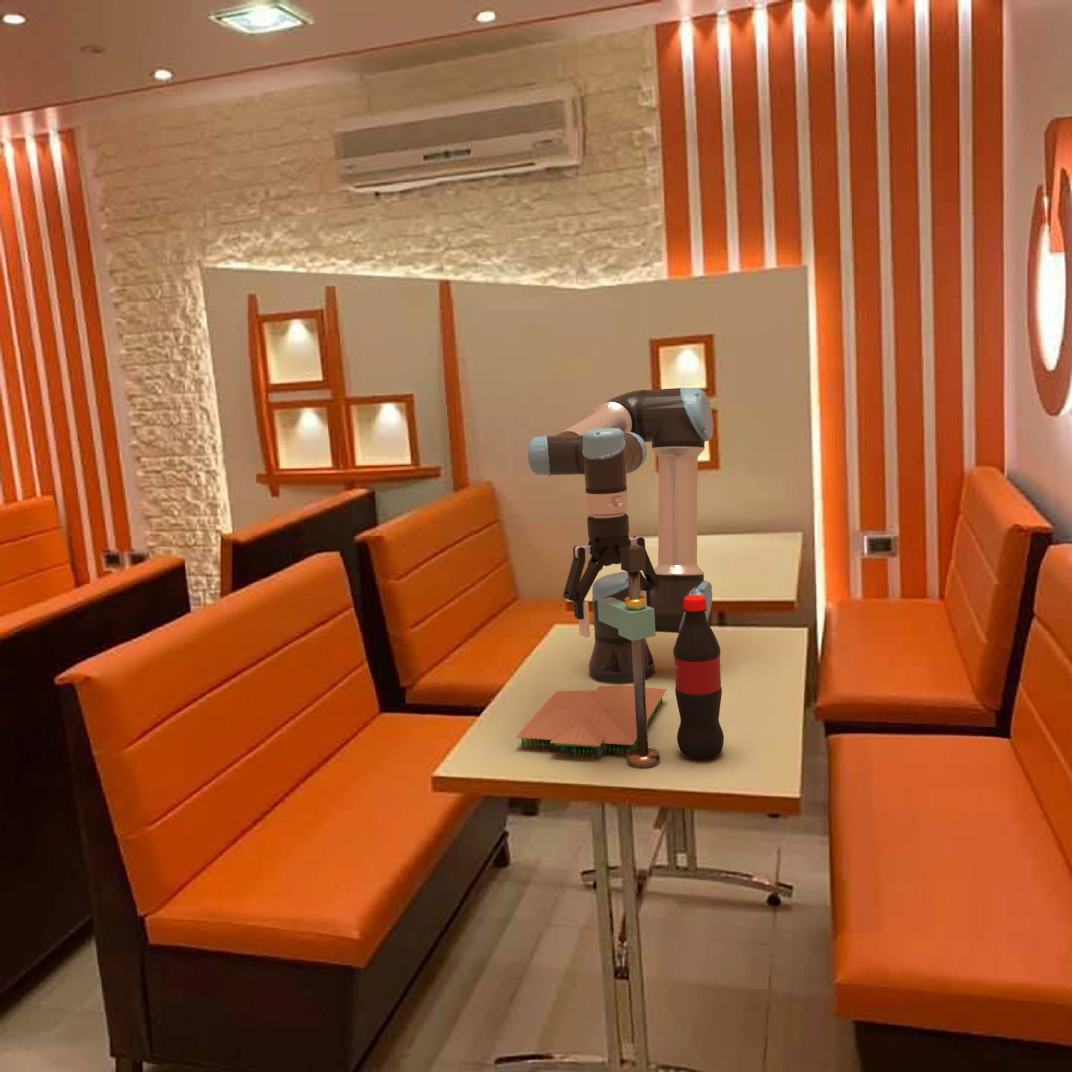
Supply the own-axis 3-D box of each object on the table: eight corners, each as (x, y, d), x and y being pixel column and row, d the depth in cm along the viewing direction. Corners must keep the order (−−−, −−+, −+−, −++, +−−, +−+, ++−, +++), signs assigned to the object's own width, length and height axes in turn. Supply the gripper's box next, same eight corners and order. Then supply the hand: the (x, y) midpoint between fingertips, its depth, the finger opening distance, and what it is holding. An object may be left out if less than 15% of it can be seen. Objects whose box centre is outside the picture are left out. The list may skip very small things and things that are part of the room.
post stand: (621, 759, 192) (609, 547, 185) (648, 752, 195) (638, 542, 187) (637, 771, 187) (626, 552, 179) (666, 763, 189) (656, 547, 182)
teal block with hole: (594, 623, 195) (593, 597, 195) (616, 619, 197) (615, 593, 196) (632, 640, 183) (630, 613, 182) (655, 636, 185) (654, 608, 184)
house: (512, 759, 197) (509, 718, 196) (563, 698, 228) (561, 663, 226) (630, 767, 190) (628, 724, 188) (667, 704, 220) (665, 667, 219)
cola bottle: (719, 743, 196) (713, 589, 191) (728, 761, 188) (723, 600, 183) (674, 747, 196) (667, 592, 191) (682, 765, 188) (675, 604, 182)
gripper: (558, 525, 182) (565, 646, 186) (674, 508, 191) (679, 622, 195) (539, 520, 188) (547, 636, 192) (652, 503, 198) (658, 614, 202)
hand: (614, 629), depth 194 cm, fingers open, 11 cm apart
